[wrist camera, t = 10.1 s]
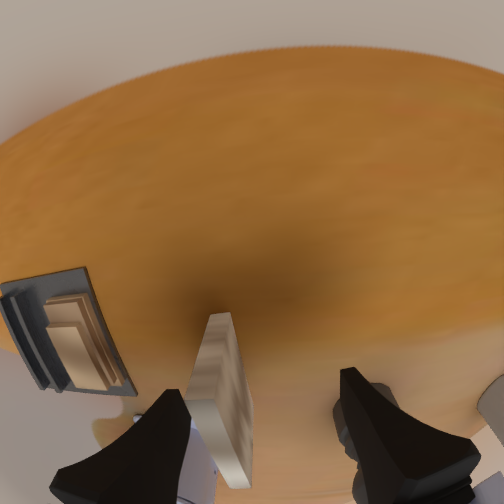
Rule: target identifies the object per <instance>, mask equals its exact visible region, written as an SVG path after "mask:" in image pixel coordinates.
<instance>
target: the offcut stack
mask: <svg viewBox="0 0 504 504" xmlns="http://www.w3.org/2000/svg"><path fill="white" fill-rule="evenodd" d="M43 307H44V309H45V312H46V314H47V316H48V319H49V321H50V325H48V326H47V327H46V330H47V332H48V334H49V337H50V339H51V341H52V343H53V345H54V347H55V349H56V351H57V353H58V355H59V357H60V359H61V361H62V363H63V365H64V367H65V369H66V371H67V372H68V374H69V376H70V378H71V380H72V381H73V383H74V385H75V386H76V388H83V389H94V390H107V391H108V389H109V387H110V386H123V384H124V382H125V380H124V378H123V376H122V374H121V372H120V370H119V367H118V365H117V363H116V361H115V359H114V357H113V355H112V353H111V350H110V348H109V346H108V344H107V341H106V339H105V337H104V334H103V332H102V330H101V327H100V325H99V322H98V320H97V317H96V315H95V312H94V309H93V307H92V304H91V301H90V299H89V296H88V293H80V294H73V295H65V296H57V297H50V298H49V299H48V300H46V304H45V305H43Z"/></svg>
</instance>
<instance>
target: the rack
mask: <svg viewBox="0 0 504 504" xmlns="http://www.w3.org/2000/svg"><path fill="white" fill-rule="evenodd" d="M0 288H1V291H2V294H3V295H2V296H1V297H0V311H1V314H2V316H3V319H4V321H5V323H6V325H7V328H8V330H9V332H10V334H11V337H12V339H13V341H14V343H15V345H16V347H17V349H18V351H19V353H20V355H21V357H22V359H23V360H24V362H25V364H26V366H27V368H28V370H29V371H30V373H31V375H32V376H33V378H34V380H35V382H36V383H37V385H38V387H39V388H40V389H41V390H45V389H46V388H53V389H55V391H56V392H57V393H62V392H63V390H66V391H74V392H83V393H92V394H103V395H117V396H137V395H138V393H137V391H136V389H135V387H134V385H133V383H132V381H131V379H130V377H129V375H128V373H127V371H126V369H125V367H124V364H123V362H122V360H121V358H120V356H119V354H118V351H117V349H116V347H115V345H114V342H113V340H112V338H111V335H110V333H109V330H108V328H107V325H106V323H105V320H104V318H103V315H102V313H101V310H100V307H99V305H98V302H97V299H96V296H95V293H94V291H93V288H92V285H91V282H90V279H89V276H88V272H87V269H86V267H82V268H77V269H72V270H67V271H61V272H56V273H51V274H46V275H41V276H36V277H31V278H26V279H21V280H16V281H12V282H7V283H2V284H0ZM80 293H88V296H89V299H90V301H91V304H92V307H93V309H94V312H95V315H96V317H97V320H98V322H99V325H100V327H101V330H102V332H103V334H104V337H105V339H106V341H107V344H108V346H109V348H110V350H111V353H112V355H113V357H114V359H115V361H116V363H117V365H118V367H119V370H120V372H121V374H122V376H123V378H124V380H125V382H124V384H123V386H110V387H109V389H108V391H107V390H94V389H83V388H76V386H75V385H74V383H73V381H72V380H71V378H70V376H69V374H68V372H67V371H66V369H65V367H64V365H63V363H62V361H61V359H60V357H59V355H58V353H57V351H56V349H55V347H54V345H53V343H52V341H51V339H50V337H49V334H48V332H47V330H46V327H47V326H48V325H50V321H49V319H48V316H47V314H46V312H45V309H44V307H43V305H45V304H46V300H48V299H49V298H50V297H57V296H65V295H73V294H80Z"/></svg>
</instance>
